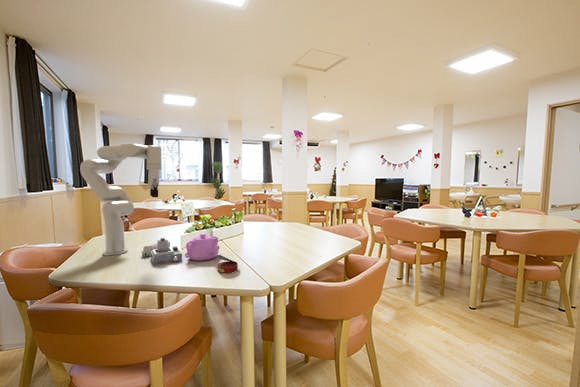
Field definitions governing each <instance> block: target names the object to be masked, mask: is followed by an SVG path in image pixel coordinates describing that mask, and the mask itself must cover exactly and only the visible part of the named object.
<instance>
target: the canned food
mask: <svg viewBox="0 0 580 387" xmlns="http://www.w3.org/2000/svg"><path fill="white" fill-rule="evenodd" d="M217 257H218V259H219V260H222V262H219V263H218V264H217V267H216V268H217V269H216V270H217V272H218V274H223V273H228V274H233V273H236V272H237V271H238V270H237V269H239V268H238V267H239V266H238V265H239V264H238V262H237V261H235V260H232V259H230V258H228V257H225V256H223V255H221V254H219V255H218V254H217ZM235 271H236V272H235ZM232 272H233V273H232Z"/></svg>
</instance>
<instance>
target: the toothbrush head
mask: <svg viewBox="0 0 580 387" xmlns="http://www.w3.org/2000/svg"><path fill="white" fill-rule="evenodd" d="M168 247H171V242H170V241H169V240H168ZM154 249H158V244H157V243H154V244H151V245H144V246H143V250H142V251H141V256H142V257H151V251H153V250H154Z"/></svg>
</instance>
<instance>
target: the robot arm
mask: <svg viewBox="0 0 580 387" xmlns="http://www.w3.org/2000/svg"><path fill="white" fill-rule="evenodd" d="M96 154H97V156H98V158H100V159H97V158H96V159H93V158H90V159H85V160H83V161H82V162H81V163H80V167H79V168H80V169H79V172H80V175H81V176H82V178H83V180H84V181H85V182H86V183H87V184H88V185H89V187H90V189H91V190H92V192H93V194H94V196H96V198H97V199H98V201H100V202H101V203H105V204H103V206H102V209H101V210H102V215H103V219H104V231H105V232H104V235H105V250H104V251H102V255H104V256H116V255H117V256H118V255H122V254H126V253H127V252H128V248H125V226H124V225H125V224H124V221H123V219H122V217H124V216H129V215H131V214H132V213H133V212H134V210H135V205H134V203H133V202H132V200H131V199H130V196H129V195H128V193H127V192H126V191H125V189H123V188H122V187H120V186H111V185H109V184H108V183H107V181H106V179H105V178H104V177H103V176H101V175H100V174H103V175H105V174H111V173H113V172H114V171H115V170H117V168H118V166H119V165H120V164H121V163H122V162H123V161H125V160H126V159H128V158H136V159H137V158H138V159H145V160H146V170H148V178H147V179H148V180H147V185H148V187H150V189H149V191H150V192H149V193H150V194H149V195H150V196H151V198H159V186H160V171H161V170H162V147H161V146H160V145H154V144H152V145H151V144H150V145H143V144H138V143H123V144H120V145H104V146H101V147H99V148H98V149H97V152H96Z"/></svg>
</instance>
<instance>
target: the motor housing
mask: <svg viewBox="0 0 580 387" xmlns="http://www.w3.org/2000/svg"><path fill="white" fill-rule="evenodd" d="M150 260H151V262H152V265H153V266H157V265H164V264H169V263H170V264H171V263H176V262H182V261H183V253H182V252H181V251H180V250H179V248H178V246H174V245H173V246H172V247H171V246H168V251H167V252H160V253H158V249H154V250H152V251H151V256H150Z"/></svg>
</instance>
